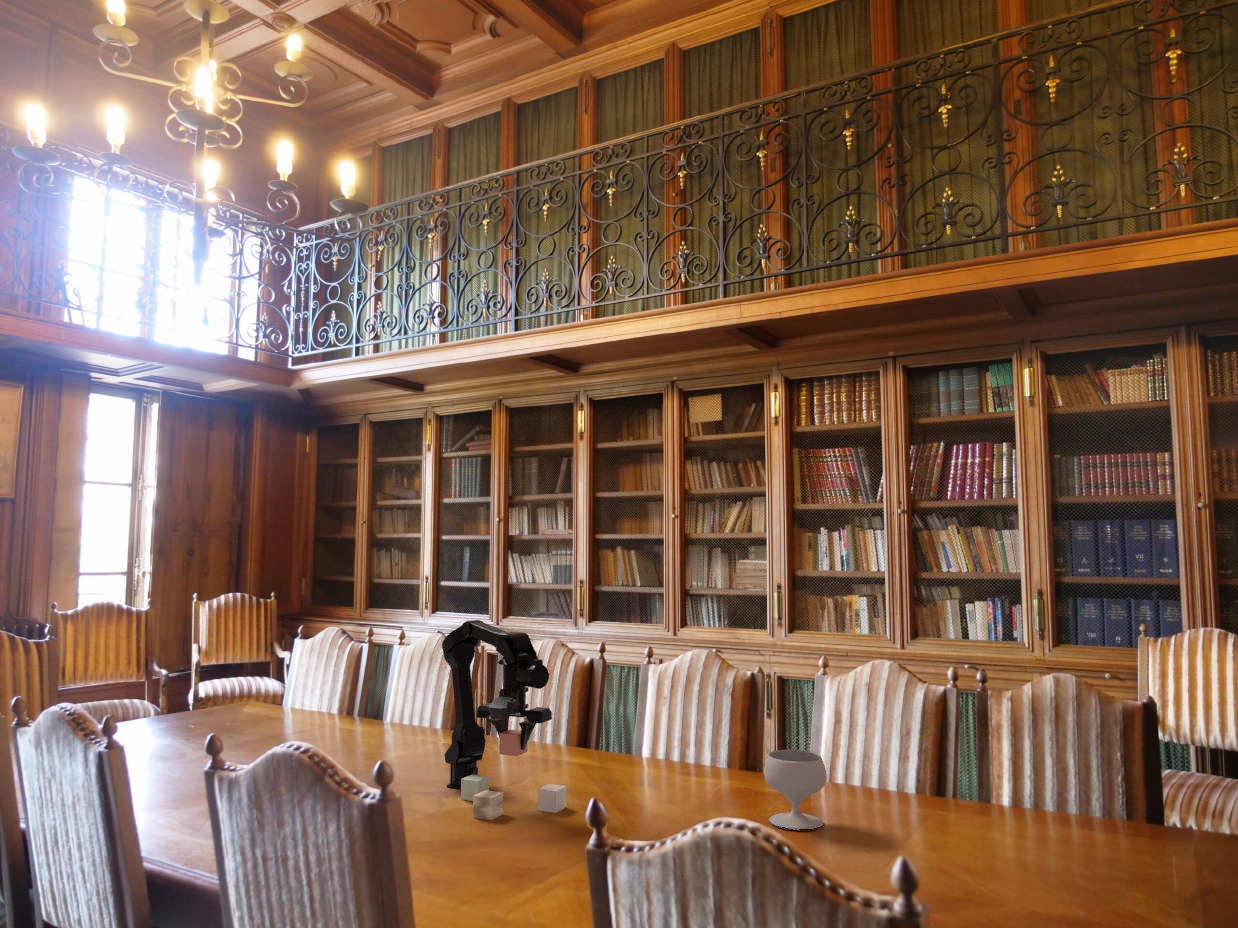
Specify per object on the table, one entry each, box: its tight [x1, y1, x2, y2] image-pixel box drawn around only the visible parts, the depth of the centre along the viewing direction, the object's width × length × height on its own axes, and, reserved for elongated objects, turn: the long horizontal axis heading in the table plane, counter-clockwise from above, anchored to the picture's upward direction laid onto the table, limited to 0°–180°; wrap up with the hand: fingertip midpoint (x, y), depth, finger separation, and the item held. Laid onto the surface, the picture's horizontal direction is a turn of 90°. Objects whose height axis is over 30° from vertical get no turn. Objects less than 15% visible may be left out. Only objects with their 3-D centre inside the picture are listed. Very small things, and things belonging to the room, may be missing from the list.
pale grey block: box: [537, 783, 567, 814], centre depth 201 cm, size 5×5×5 cm
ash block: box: [472, 790, 504, 821], centre depth 196 cm, size 5×5×5 cm
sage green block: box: [460, 774, 490, 802], centre depth 210 cm, size 5×5×5 cm
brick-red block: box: [498, 729, 528, 757], centre depth 207 cm, size 5×5×5 cm
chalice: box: [763, 749, 828, 831], centre depth 191 cm, size 14×14×15 cm
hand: (513, 748), depth 207 cm, fingers closed on brick-red block, 5 cm apart
